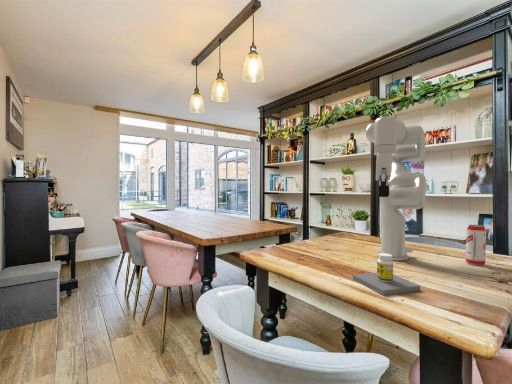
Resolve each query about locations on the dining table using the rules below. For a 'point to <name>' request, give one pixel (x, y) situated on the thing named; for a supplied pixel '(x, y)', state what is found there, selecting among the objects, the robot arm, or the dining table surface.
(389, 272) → the supplement bottle
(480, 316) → the dining table surface
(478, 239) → the beer can
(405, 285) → the slate board
